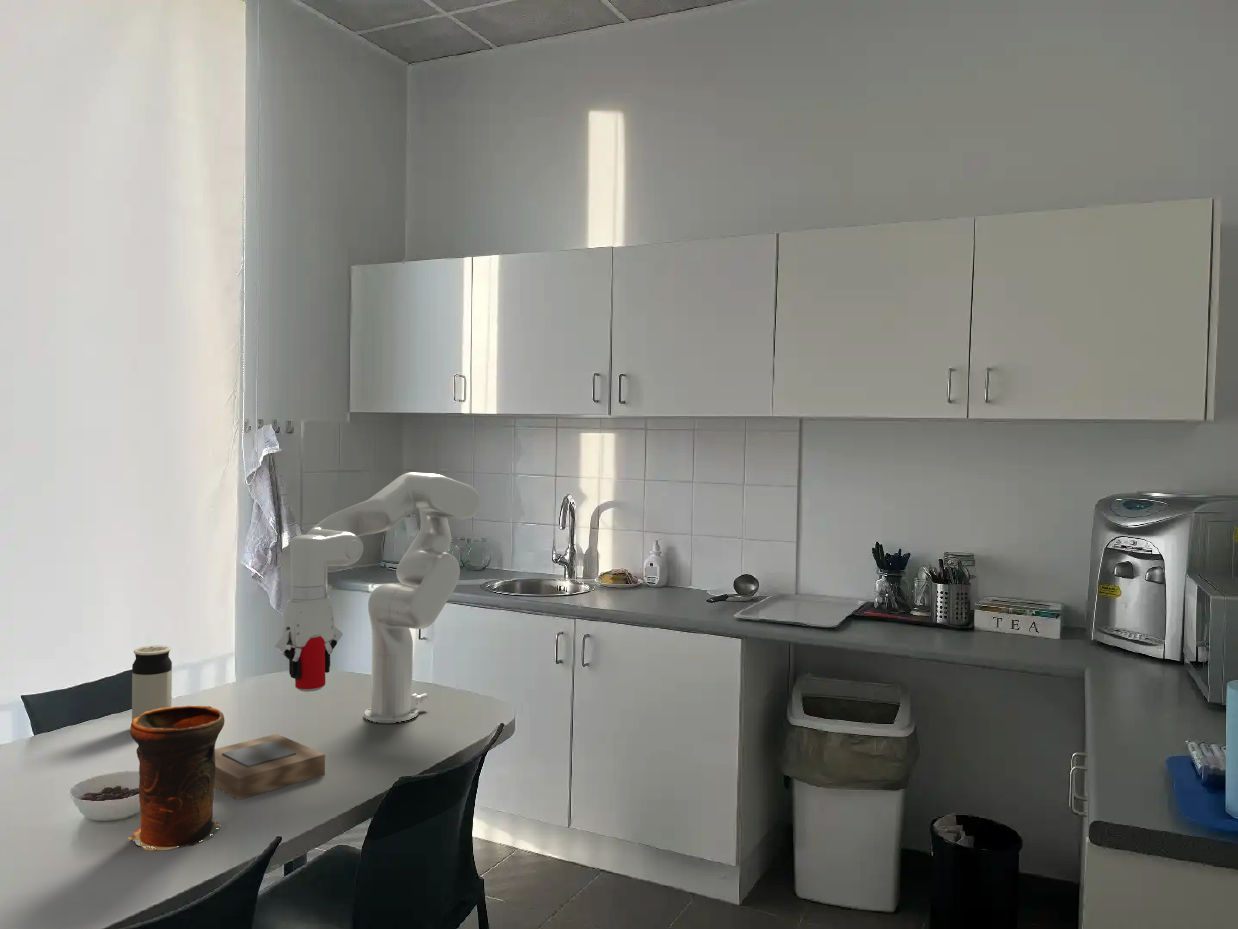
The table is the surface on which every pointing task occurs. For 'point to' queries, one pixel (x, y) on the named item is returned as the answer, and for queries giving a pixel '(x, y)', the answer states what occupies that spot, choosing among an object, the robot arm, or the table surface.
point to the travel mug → (151, 679)
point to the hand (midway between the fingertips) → (310, 674)
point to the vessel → (176, 775)
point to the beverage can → (312, 665)
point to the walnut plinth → (265, 765)
